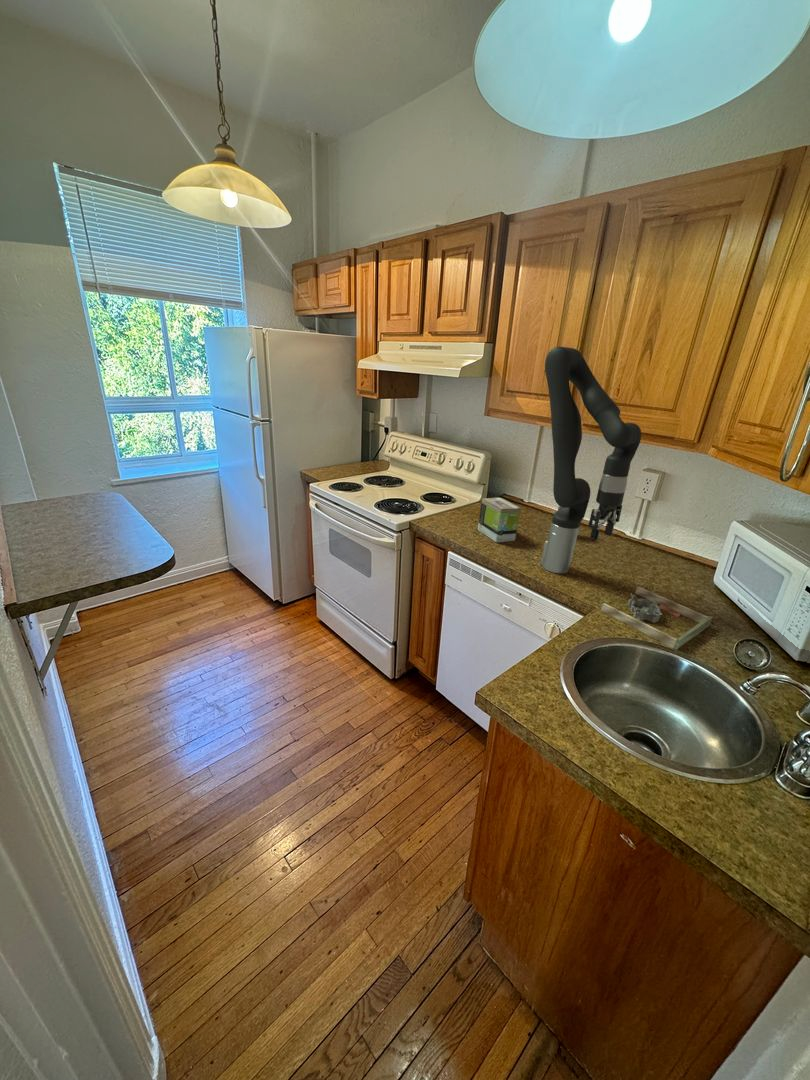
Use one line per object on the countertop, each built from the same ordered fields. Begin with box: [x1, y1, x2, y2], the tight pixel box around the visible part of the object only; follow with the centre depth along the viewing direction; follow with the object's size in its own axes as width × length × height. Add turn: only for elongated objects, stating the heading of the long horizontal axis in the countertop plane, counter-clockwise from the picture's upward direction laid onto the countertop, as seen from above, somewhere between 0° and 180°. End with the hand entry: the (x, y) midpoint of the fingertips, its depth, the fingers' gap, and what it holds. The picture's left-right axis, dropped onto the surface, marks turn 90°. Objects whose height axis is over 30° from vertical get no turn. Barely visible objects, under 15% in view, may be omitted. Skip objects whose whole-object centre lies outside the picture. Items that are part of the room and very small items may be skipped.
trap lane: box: [600, 586, 713, 651], centre depth 125 cm, size 22×22×3 cm
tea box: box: [477, 497, 522, 543], centre depth 177 cm, size 15×10×15 cm, turn 22°
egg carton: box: [627, 592, 663, 624], centre depth 128 cm, size 11×8×4 cm
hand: (600, 537), depth 137 cm, fingers open, 8 cm apart
